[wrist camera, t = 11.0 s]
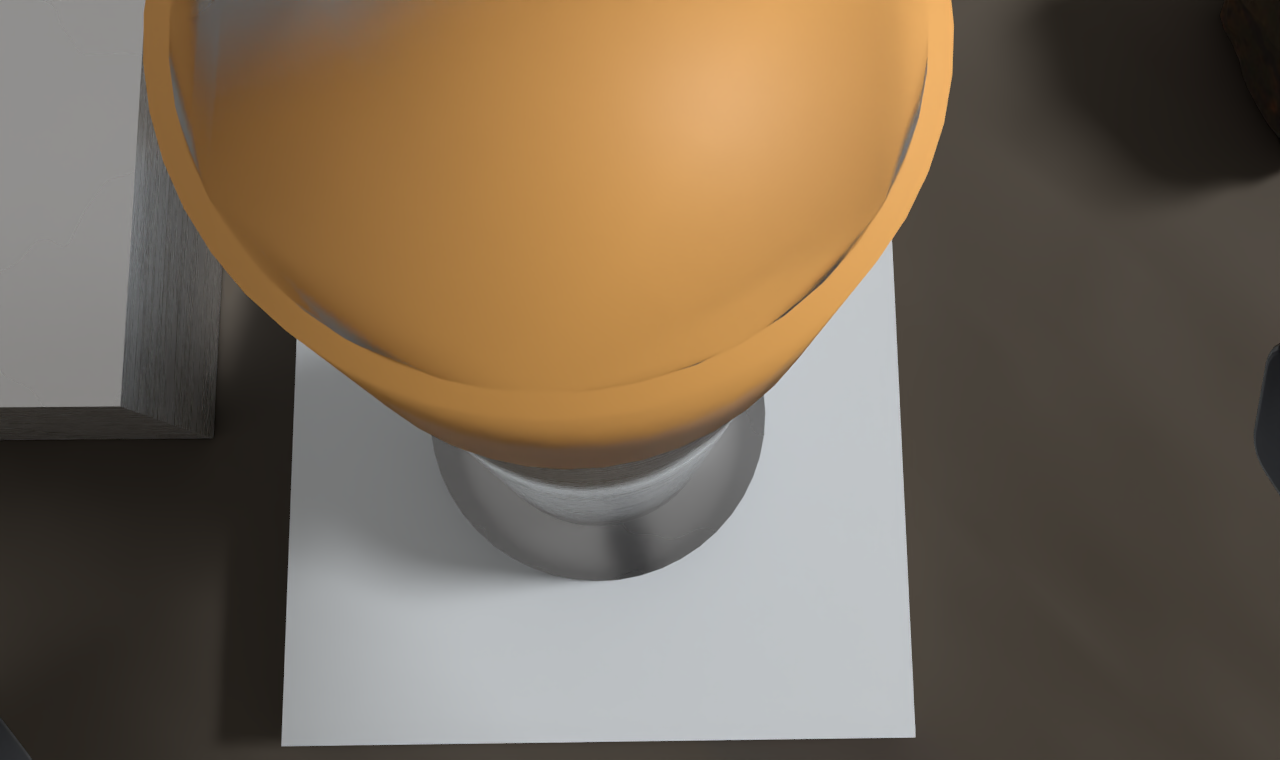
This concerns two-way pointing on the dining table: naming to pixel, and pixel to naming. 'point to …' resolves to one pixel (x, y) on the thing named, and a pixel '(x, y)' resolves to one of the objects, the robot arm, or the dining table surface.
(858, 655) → the rubber mat
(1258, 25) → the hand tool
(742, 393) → the silver metal peg
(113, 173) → the block
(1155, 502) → the dining table surface
